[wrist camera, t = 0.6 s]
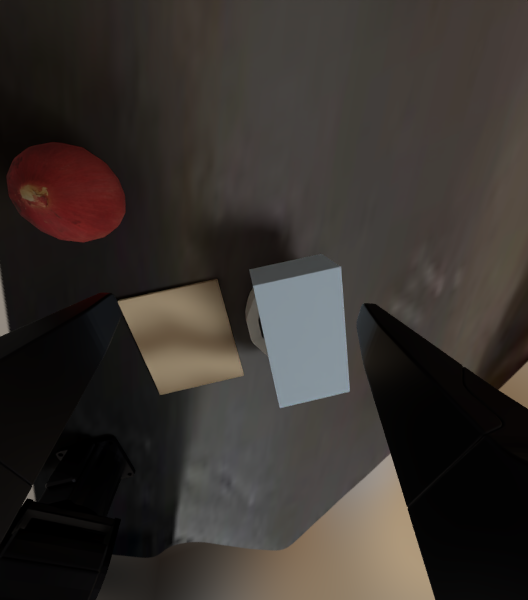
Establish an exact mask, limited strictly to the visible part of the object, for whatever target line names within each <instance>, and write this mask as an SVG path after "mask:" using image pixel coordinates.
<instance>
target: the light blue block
mask: <svg viewBox="0 0 528 600" xmlns="http://www.w3.org/2000/svg"><path fill="white" fill-rule="evenodd" d="M249 271H250V276H251V280H252V285H253V289H254V294H255V298H256V303H257V307H258V312H259V316H260V321H261V326H262V330H263V335H264V339H265V344H266V348H267V353H268V357H269V362H270V366H271V371H272V375H273V380H274V384H275V389H276V393H277V397H278V402H279V406H280V408H283V407H287V406H291V405H295V404H300V403H304V402H308V401H312V400H316V399H321V398H325V397H329V396H333V395H337V394H342V393H346V392H350V389H349V374H348V360H347V346H346V331H345V317H344V303H343V288H342V274H341V266H339V265H338V264H336V263H335V262H333V261H332V260H330V259H329V258H327V257H326V256H324V255H323V254H318V255H314V256H309V257H304V258H300V259H295V260H291V261H286V262H281V263H277V264H272V265H268V266H263V267H258V268H254V269H249Z"/></svg>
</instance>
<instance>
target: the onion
mask: <svg viewBox="0 0 528 600" xmlns="http://www.w3.org/2000/svg"><path fill="white" fill-rule="evenodd" d="M6 178H7V185H8V193H9V197H10V199H11V200H12V202H13V204H14V205H15V207H16V209H17V210H18V212H19V214H20V215H21V216H22V217H24V218H25V219H26V220H28V221H29V222H30V223H32V224H33V225H34V226H35V227H37V228H38V229H39V230H40V231H42V232H44V233H47V234H49V235H51V236H53V237H56V238H58V239H60V240H67V241H76V242H87V241H91V240H95V239H99V238H103V237H105V236H106V235H108V234H109V233H110V232H111V231H113V230H114V229H115V228H117V227H118V226H119V225H120V223H121V220H122V218H123V216H124V214H125V194H124V192H123V189H122V187H121V184H120V182H119V179H118V178H117V176H116V175H115V174H114V173H113V171H112V170H111V169H110V168H109V166H108V165H107V164H106V163H105V162H103V161H102V160H101V159H99V158H98V157H96V156H95V155H93V154H92V153H90V152H89V151H87V150H86V149H84V148H83V147H78V146H74V145H69V144H64V143H58V142H50V143H45V144H39V145H34V146H31V147H28V148H27V149H25V150H24V151H23V152H22V153H20V154H19V155H18V156H16V157H15V158H14V160H13V161H12V164H11V166H10V168H9V171H8V173H7V176H6Z"/></svg>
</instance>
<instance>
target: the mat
mask: <svg viewBox="0 0 528 600" xmlns="http://www.w3.org/2000/svg"><path fill="white" fill-rule="evenodd" d="M118 304H119V306H120V308H121V310H122V312H123V315H124V317H125V319H126V321H127V323H128V325H129V328H130V330H131V332H132V334H133V336H134V339H135V341H136V343H137V345H138V347H139V349H140V352H141V354H142V356H143V358H144V360H145V362H146V365H147V367H148V369H149V371H150V373H151V375H152V378H153V380H154V382H155V384H156V386H157V388H158V391H159V393H160V395H162V394H166V393H171V392H175V391H179V390H184V389H188V388H192V387H197V386H201V385H205V384H209V383H214V382H218V381H222V380H227V379H231V378H235V377H240V376H244V373H243V369H242V366H241V362H240V359H239V355H238V351H237V348H236V344H235V340H234V337H233V333H232V330H231V326H230V322H229V319H228V315H227V312H226V308H225V304H224V301H223V297H222V293H221V290H220V286H219V283H218V279H213V280H208V281H204V282H199V283H195V284H190V285H185V286H181V287H176V288H172V289H167V290H163V291H158V292H153V293H149V294H144V295H140V296H135V297H130V298H126V299H121V300H119V301H118Z"/></svg>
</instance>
